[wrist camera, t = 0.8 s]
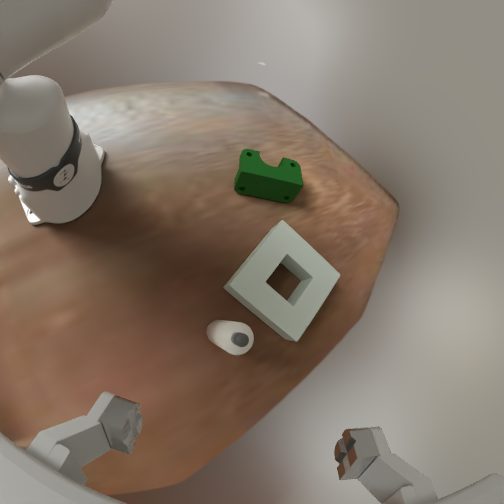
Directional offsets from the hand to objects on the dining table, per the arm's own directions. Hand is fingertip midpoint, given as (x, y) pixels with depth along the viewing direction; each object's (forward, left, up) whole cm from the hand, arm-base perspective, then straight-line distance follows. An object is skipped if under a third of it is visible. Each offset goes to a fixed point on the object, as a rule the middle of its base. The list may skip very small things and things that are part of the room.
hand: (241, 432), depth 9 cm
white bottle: (+3, +5, -34) cm, 35 cm away
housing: (+6, +18, -34) cm, 39 cm away
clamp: (-8, +31, -35) cm, 47 cm away
